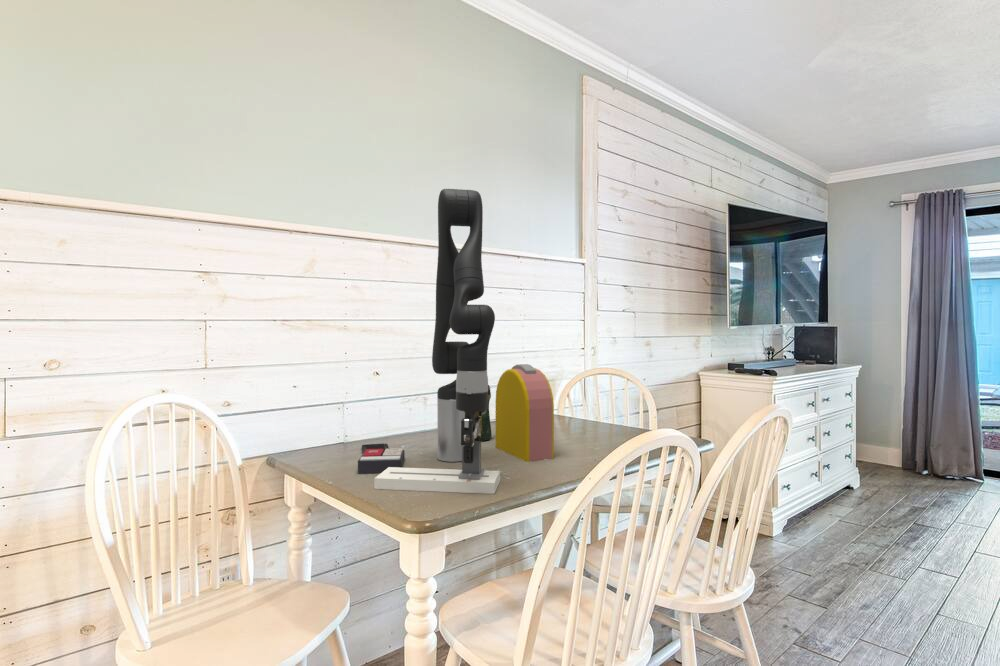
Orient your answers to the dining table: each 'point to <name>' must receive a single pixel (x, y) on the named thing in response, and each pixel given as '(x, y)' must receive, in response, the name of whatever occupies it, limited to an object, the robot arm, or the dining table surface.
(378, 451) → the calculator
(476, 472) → the fader tab
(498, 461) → the dining table surface
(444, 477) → the fader console
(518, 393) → the lunch box
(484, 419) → the coffee jar
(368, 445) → the phone
